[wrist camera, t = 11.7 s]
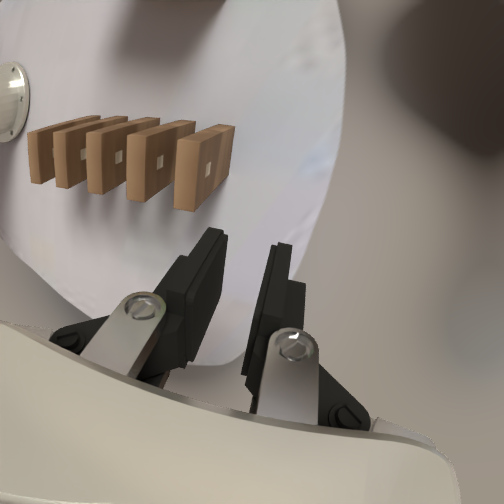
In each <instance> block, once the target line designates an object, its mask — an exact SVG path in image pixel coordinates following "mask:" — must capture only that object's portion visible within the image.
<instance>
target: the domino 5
mask: <svg viewBox="0 0 504 504" xmlns="http://www.w3.org/2000/svg"><path fill="white" fill-rule="evenodd" d="M234 131H235V126H229V125H222V124H218V125H215V126H212V127H210V128H207V129H204V130H202V131H199V132H196V133H194V134H191V135H189V136H186V137H184V138H181V139H179V140H177V153H176V167H175V184H174V206H173V208H176V209H181V210H186V211H191V212H195V210H196V209H197V208H198V207H199V206H200V205H201V204H202V203H203V202H204V201H205V199H206V198H207V197H208V196H209V195H210V194H211V193H212V192H213V191H214V190H215V189H216V188H217V186H218V185H219V184H220V183H221V182H222V181H223V180H224V179H225V178H226V177H227V176H228V175H229V167H230V160H231V152H232V145H233V138H234Z"/></svg>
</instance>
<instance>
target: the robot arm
mask: <svg viewBox="0 0 504 504" xmlns="http://www.w3.org/2000/svg"><path fill="white" fill-rule="evenodd" d="M28 107H29V85H28V79H27V76H26V73H25V71H24V69H23V68H22V67H21V65H19V64H18V63H16V62H8V63H5V64H3V65H1V66H0V142H3V143H5V142H8V141H11V140H13V139H14V138H16V137H17V136H18V134H19V133H20V132H21V130H22V128H23V126H24V123H25V120H26V117H27V113H28ZM227 241H228V235H226V234H224V231H223V230H220V229H216V228H211V227H208V229H207V230H206V231H205V233H204V234H203V236H202V237H201V239H200V240H199V241H198V243H197V244H196V246H195V247H194V249H193V250H192V251H191V253H190V254H189V256H184V255H180V256H179V257H178V258H177V259H176V261H175V262H174V264H173V265H172V266H171V268H170V269H169V270H168V272H167V273H166V275H165V276H164V277H163V279H162V280H161V282H160V283H159V284H158V286H157V287H156V289H155V290H154V292H153V293H151V292H136V293H132V294H130V295H128V296H127V297H125V298H124V299H123V300H122V301H121V303H120V304H119V305H118V306H117V308H116V309H115V310H114V311H113V313H112V314H111V315H108V316H105V317H101V318H97V319H93V320H89V321H85V322H81V323H77V324H73V325H69V326H66V327H63V328H60V329H58V330H57V331H56V332H53V329H48V328H39V327H31V326H23V325H16V324H11V323H8V322H5V321H1V320H0V504H462V503H461V497H460V490H459V485H458V480H457V477H456V473H455V470H454V468H453V466H452V464H451V462H450V461H449V459H448V458H447V457H446V456H445V455H444V454H443V453H441V452H440V451H438V450H437V449H436V447H435V444H434V443H433V441H432V440H431V439H430V438H428V437H427V436H425V435H422V434H420V433H417V432H415V431H412V430H409V429H407V428H404V427H402V426H399V425H397V424H394V423H392V422H389V421H386V420H384V419H382V418H379V417H377V419H373V418H371V417H370V416H369V414H368V412H367V411H366V409H365V408H364V407H363V406H362V405H361V404H360V403H359V402H358V401H357V400H356V399H355V398H354V397H353V396H352V395H351V394H350V393H349V392H348V391H347V390H346V389H345V388H344V387H343V386H342V385H341V384H339V383H338V382H337V381H336V380H335V379H334V378H333V377H332V376H331V375H330V374H329V373H328V372H327V371H326V370H325V369H324V368H323V367H322V366H321V365H320V364H319V348H318V344H317V342H316V341H315V339H314V338H313V337H312V336H311V335H310V334H308V333H307V332H305V331H303V325H304V310H305V309H304V308H305V292H306V284H305V283H302V282H297V281H293V280H288V276H289V268H290V260H291V253H292V245H289V244H285V243H280V242H278V245H277V246H276V245H271V249H270V253H269V257H268V261H267V265H266V269H265V273H264V277H263V280H262V284H261V288H260V292H259V296H258V300H257V303H256V307H255V312H254V316H253V320H252V325H251V330H250V334H249V339H248V344H247V348H246V353H245V357H244V362H243V367H242V371H241V375H245V376H247V378H246V382H245V386H246V387H247V388H248V390H249V391H250V392H251V393H252V395H253V397H252V401H251V405H250V410H249V413H246V412H242V411H237V410H233V409H229V408H225V407H221V406H217V405H213V404H210V403H206V402H203V401H199V400H196V399H192V398H189V397H185V396H182V395H179V394H176V393H173V392H170V391H167V390H164V389H163V388H164V385H165V384H166V381H167V379H168V377H169V375H170V370H172V369H175V368H178V367H180V368H184V369H185V367H186V365H187V363H188V361H191V362H193V361H194V359H195V357H196V354H197V352H198V350H199V347H200V345H201V342H202V340H203V338H204V335H205V333H206V330H207V328H208V326H209V323H210V321H211V318H212V316H213V314H214V311H215V309H216V306H217V304H218V302H219V299H220V296H221V291H222V283H223V275H224V266H225V258H226V250H227Z"/></svg>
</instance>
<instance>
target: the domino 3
mask: <svg viewBox="0 0 504 504" xmlns="http://www.w3.org/2000/svg"><path fill="white" fill-rule="evenodd" d="M159 124H160V118H152V117H145V118H141V119H136V120H132V121H128V122H124V123H120V124H116V125H112V126H109V127H105V128H102V129H98V130H95V131H91V132H88V133H86V163H87V185H88V192H89V193H95V194H100V195H103V194H105V193H106V192H108V191H110V190H111V189H113V188H115V187H116V186H118V185H120V184H121V183H123V182H125V181H127V179H126V167H127V135H130V134H133V133H136V132H139V131H143V130H146V129H149V128H153V127H156V126H159Z"/></svg>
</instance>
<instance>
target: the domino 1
mask: <svg viewBox="0 0 504 504" xmlns="http://www.w3.org/2000/svg"><path fill="white" fill-rule="evenodd" d="M96 120H100V116H86V117H82V118H78V119H74V120H70V121H66V122H62V123H59V124H55V125H51V126H48V127H45V128H41V129H38V130H35V131H32V132H29V133H27V137H28V155H29V167H30V177H31V183H35V184H43V183H45V182H47V181H48V180H50V179H52V178H54V177H55V165H54V145H53V132H56V131H60V130H63V129H66V128H70V127H74V126H77V125H81V124H85V123H88V122H92V121H96Z"/></svg>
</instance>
